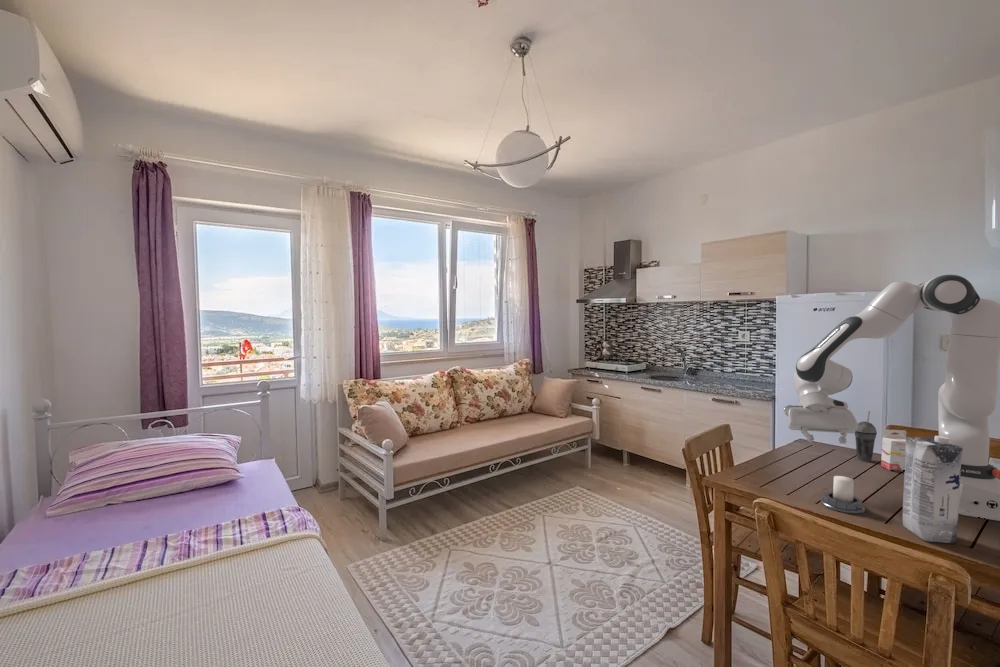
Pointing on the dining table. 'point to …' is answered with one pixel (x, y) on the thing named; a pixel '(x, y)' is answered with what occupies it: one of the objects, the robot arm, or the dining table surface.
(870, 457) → the beverage cup
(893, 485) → the dining table surface
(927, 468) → the juice carton
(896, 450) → the ink cartridge box
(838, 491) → the plug
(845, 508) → the holder
